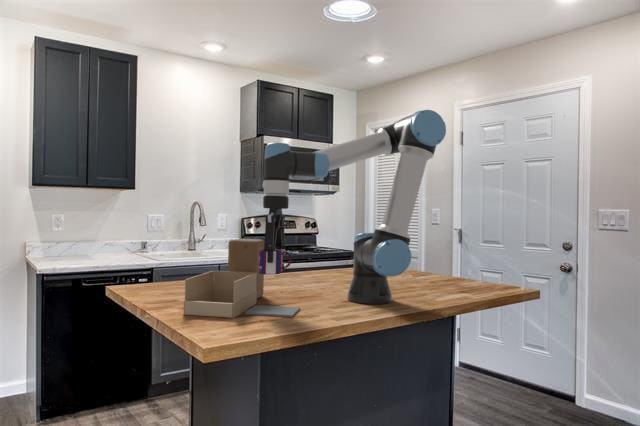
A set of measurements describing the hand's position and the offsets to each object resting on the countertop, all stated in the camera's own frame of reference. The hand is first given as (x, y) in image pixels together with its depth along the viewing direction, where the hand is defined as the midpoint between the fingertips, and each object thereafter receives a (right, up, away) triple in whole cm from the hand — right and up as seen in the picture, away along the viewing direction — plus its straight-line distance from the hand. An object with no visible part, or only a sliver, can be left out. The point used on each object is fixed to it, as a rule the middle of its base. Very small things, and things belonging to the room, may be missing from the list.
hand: (274, 272), depth 138 cm
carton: (-16, -11, +3) cm, 20 cm away
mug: (0, 0, +1) cm, 1 cm away
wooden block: (-12, -12, +21) cm, 27 cm away
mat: (0, -12, 0) cm, 12 cm away
